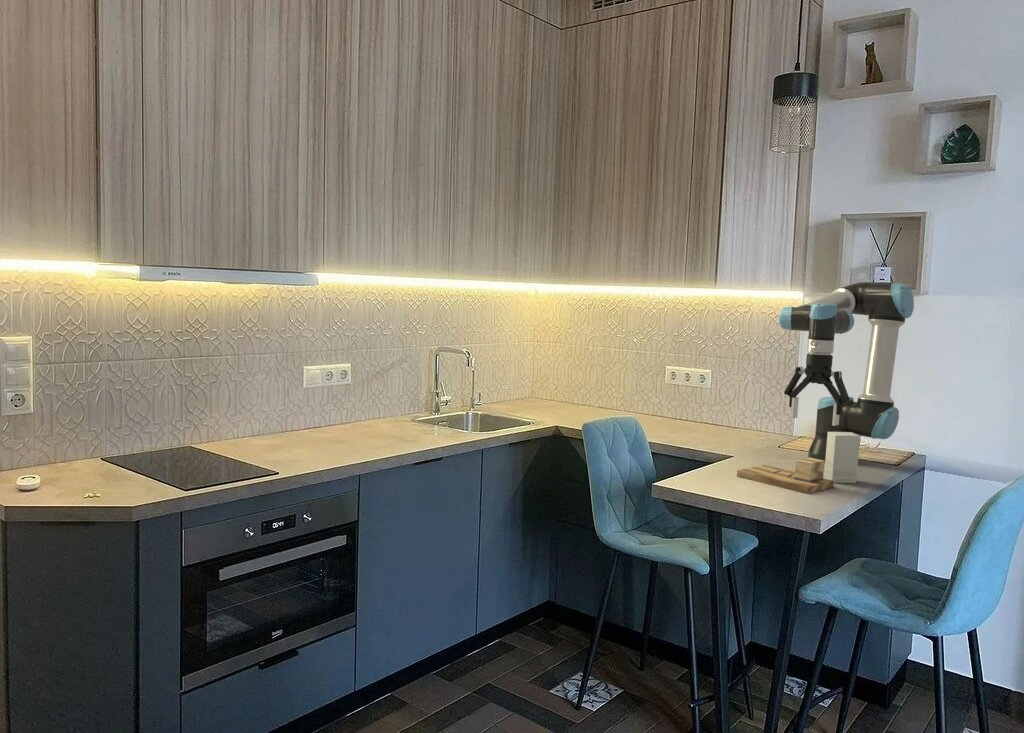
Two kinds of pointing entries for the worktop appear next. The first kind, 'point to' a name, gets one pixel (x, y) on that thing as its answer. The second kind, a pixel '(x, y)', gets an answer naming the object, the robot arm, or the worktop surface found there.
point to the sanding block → (809, 470)
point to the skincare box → (842, 457)
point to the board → (783, 479)
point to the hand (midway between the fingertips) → (814, 421)
